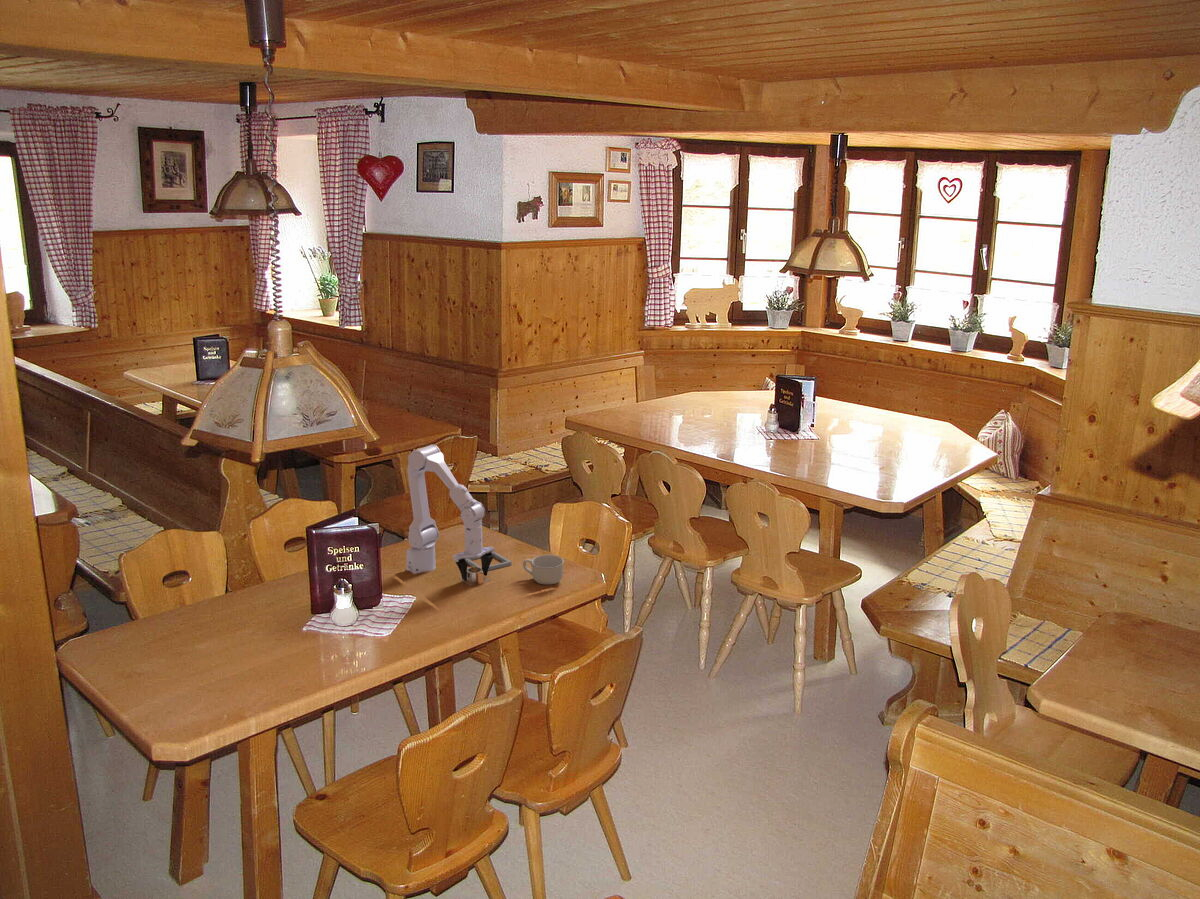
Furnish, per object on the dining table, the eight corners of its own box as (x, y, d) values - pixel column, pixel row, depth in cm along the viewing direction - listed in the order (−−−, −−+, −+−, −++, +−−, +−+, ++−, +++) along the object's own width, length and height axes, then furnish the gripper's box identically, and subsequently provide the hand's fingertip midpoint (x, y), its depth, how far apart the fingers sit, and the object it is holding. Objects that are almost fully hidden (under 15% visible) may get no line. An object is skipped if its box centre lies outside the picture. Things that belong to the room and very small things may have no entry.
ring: (473, 585, 326) (473, 575, 325) (463, 578, 331) (462, 568, 330) (488, 581, 329) (488, 572, 328) (478, 575, 334) (477, 565, 334)
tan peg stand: (469, 588, 325) (469, 573, 324) (458, 580, 332) (458, 565, 330) (491, 582, 330) (490, 568, 329) (479, 575, 336) (479, 560, 335)
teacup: (569, 579, 333) (569, 557, 331) (554, 591, 324) (554, 568, 322) (533, 572, 339) (532, 551, 337) (517, 583, 329) (517, 561, 327)
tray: (481, 574, 337) (481, 568, 337) (463, 562, 347) (463, 557, 347) (511, 567, 344) (511, 561, 343) (493, 555, 354) (492, 550, 354)
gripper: (459, 546, 320) (460, 585, 323) (498, 538, 328) (499, 576, 331) (449, 540, 325) (450, 579, 329) (488, 532, 333) (489, 569, 337)
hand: (474, 577), depth 330 cm, fingers open, 7 cm apart
